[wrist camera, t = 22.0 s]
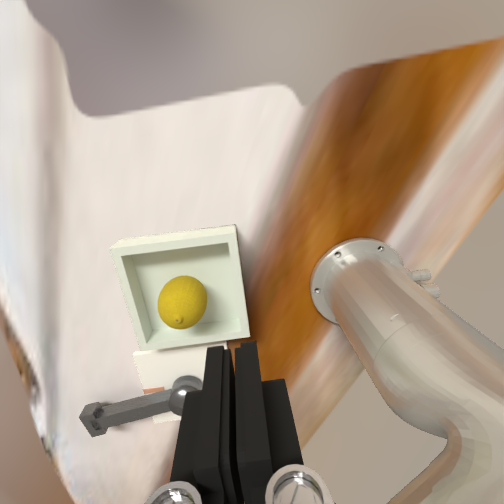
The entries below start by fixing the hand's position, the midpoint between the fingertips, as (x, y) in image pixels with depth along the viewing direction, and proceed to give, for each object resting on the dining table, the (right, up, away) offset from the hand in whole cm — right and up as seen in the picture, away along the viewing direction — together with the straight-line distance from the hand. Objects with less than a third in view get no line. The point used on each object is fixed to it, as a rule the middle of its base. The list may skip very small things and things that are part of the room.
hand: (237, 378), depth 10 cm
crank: (-15, -17, +33) cm, 40 cm away
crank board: (-9, -15, +34) cm, 38 cm away
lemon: (-8, 0, +28) cm, 29 cm away
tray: (-8, 0, +28) cm, 29 cm away
